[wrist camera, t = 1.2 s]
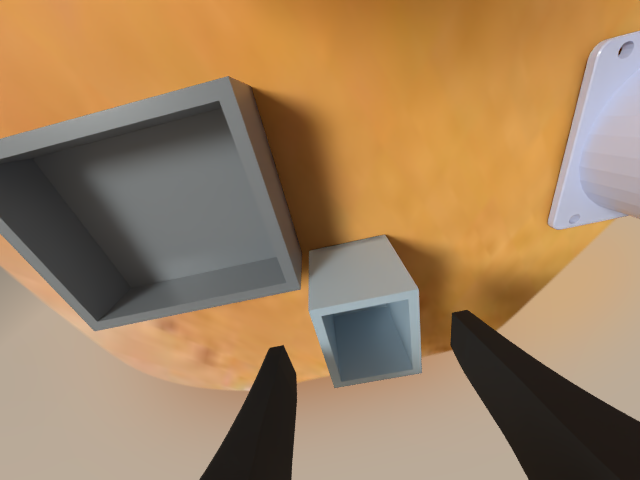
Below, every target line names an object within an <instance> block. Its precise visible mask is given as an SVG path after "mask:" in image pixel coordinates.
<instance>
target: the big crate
mask: <svg viewBox="0 0 640 480" xmlns="http://www.w3.org/2000/svg"><path fill="white" fill-rule="evenodd" d="M0 234H1V235H2V236H3V237H4V238H5V239H6V240H7V241H8V242H9V243H10V244H11V245H12V246H13V247H14V248H15V249H16V250H17V251H18V252H19V253H20V255H21V256H22V257H23V258H24V259H25V260H26V261H27V262H28V263H29V264H30V265H31V266H32V267H33V268H34V269H35V270H36V271H37V272H38V273H39V274H40V275H41V276H42V277H43V278H44V279H45V280H46V281H47V282H48V283H49V285H50V286H51V287H52V288H53V289H54V290H55V291H56V292H57V293H58V294H59V295H60V296H61V297H62V298H63V299H64V300H65V301H66V302H67V303H68V304H69V305H70V306H71V307H72V308H73V309H74V310H75V311H76V312H77V313H78V315H79V316H80V317H81V318H82V319H83V320H84V321H85V322H86V323H87V324H88V325H89V326H90V327H91V328H92V329H93V330H94V331H98V330H103V329H108V328H113V327H118V326H123V325H128V324H133V323H138V322H143V321H147V320H152V319H157V318H162V317H167V316H172V315H177V314H182V313H187V312H192V311H197V310H201V309H206V308H211V307H216V306H221V305H226V304H231V303H236V302H241V301H246V300H251V299H255V298H260V297H265V296H270V295H275V294H280V293H285V292H290V291H295V290H300V289H301V270H302V251H301V248H300V245H299V241H298V238H297V235H296V232H295V228H294V225H293V222H292V219H291V215H290V212H289V209H288V205H287V202H286V199H285V196H284V192H283V189H282V186H281V183H280V179H279V176H278V173H277V170H276V166H275V163H274V160H273V157H272V153H271V150H270V147H269V144H268V140H267V137H266V134H265V130H264V127H263V124H262V121H261V117H260V114H259V111H258V108H257V104H256V101H255V98H254V95H253V91H252V88H251V86H249V85H247V84H245V83H242V82H240V81H238V80H236V79H233V78H231V77H229V76H227V77H224V78H220V79H217V80H213V81H209V82H206V83H202V84H198V85H195V86H191V87H187V88H184V89H180V90H177V91H173V92H169V93H166V94H162V95H158V96H155V97H151V98H147V99H144V100H140V101H136V102H133V103H129V104H126V105H122V106H118V107H115V108H111V109H107V110H104V111H100V112H96V113H93V114H89V115H86V116H82V117H78V118H75V119H71V120H67V121H64V122H60V123H56V124H53V125H49V126H45V127H42V128H38V129H35V130H31V131H27V132H24V133H20V134H16V135H13V136H9V137H5V138H2V139H0Z"/></svg>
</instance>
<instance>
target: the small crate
mask: <svg viewBox="0 0 640 480" xmlns="http://www.w3.org/2000/svg"><path fill="white" fill-rule="evenodd" d="M309 313H310V316H311V319H312V322H313V325H314V328H315V331H316V334H317V337H318V340H319V343H320V346H321V349H322V352H323V355H324V358H325V361H326V364H327V367H328V370H329V373H330V376H331V379H332V382H333V385H334V388H338V387H344V386H349V385H355V384H361V383H367V382H373V381H378V380H384V379H390V378H396V377H402V376H408V375H414V374H419V373H422V366H421V365H422V364H421V337H420V310H419V289H418V287H417V285H416V284H415V282H414V281H413V279H412V277H411V276H410V274H409V272H408V271H407V269H406V268H405V266H404V264H403V263H402V261H401V260H400V258H399V256H398V255H397V253H396V251H395V250H394V248H393V247H392V245H391V243H390V242H389V240H388V238H387V237H386V235H380V236H376V237H371V238H366V239H362V240H357V241H352V242H348V243H343V244H339V245H334V246H329V247H325V248H320V249H315V250H311V251H309Z"/></svg>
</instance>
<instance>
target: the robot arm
mask: <svg viewBox="0 0 640 480" xmlns="http://www.w3.org/2000/svg"><path fill="white" fill-rule="evenodd" d="M621 46H622V51H621V53H620V55H619V56H618V52H619V50H620V48H621ZM629 215H630V216H633V217H636V218H639V219H640V31H637V32H633V33H629V34H625V35H621V36H617V37H613V38H610V39H606V40H604V41H602V42H600V43H599V44H598V45H596V46H595V47H594V49H593V50H592V52H591V53H590V56H589V58H588V61H587V65H586V70H585V74H584V78H583V82H582V86H581V90H580V94H579V98H578V102H577V106H576V110H575V114H574V118H573V122H572V126H571V130H570V134H569V138H568V142H567V146H566V150H565V154H564V158H563V162H562V166H561V170H560V174H559V178H558V182H557V186H556V190H555V194H554V198H553V202H552V206H551V210H550V215H549V219H548V225H549V226H550V227H552V228H555V229H557V230H560V229H566V228H570V227H575V226H580V225H585V224H590V223H595V222H600V221H604V220H609V219H614V218H619V217H624V216H629ZM451 347H452V349H453V352H454V354H455V356H456V358H457V360H458V362H459V364H460V365H461V367H462V369H463V371H464V373H465V374H466V376H467V378H468V379H469V381H470V382H471V384H472V386H473V387H474V389H475V390H476V392H477V394H478V395H479V397H480V398H481V400H482V401H483V403H484V404H485V406H486V408H487V409H488V410H489V412H490V414H491V415H492V417H493V419H494V420H495V422H496V423H497V425H498V426H499V428H500V429H501V431H502V433H503V434H504V436H505V438H506V439H507V441H508V442H509V444H510V446H511V447H512V449H513V451H514V453H515V455H516V457H517V459H518V461H519V462H520V464H521V466H522V468H523V470H524V472H525V474H526V475H527V477H528V479H529V480H640V422H639V421H637V420H635V419H633V418H632V417H630V416H628V415H626V414H625V413H623V412H621V411H619V410H617V409H615V408H614V407H612V406H610V405H609V404H607V403H605V402H603V401H602V400H600V399H598V398H597V397H595V396H593V395H591V394H590V393H588V392H586V391H585V390H583V389H581V388H580V387H578V386H577V385H575V384H573V383H571V382H570V381H568V380H567V379H565V378H564V377H562V376H560V375H559V374H558V373H556V372H554V371H553V370H551V369H550V368H548V367H546V366H545V365H543V364H542V363H541V362H539V361H538V360H536V359H535V358H533V357H532V356H530V355H529V354H527V353H526V352H525V351H523V350H522V349H520V348H519V347H517V346H516V345H515V344H513V343H512V342H510V341H509V340H508V339H506V338H505V337H503V336H502V335H501V334H499V333H498V332H497V331H495V330H494V329H492V328H491V327H490V326H488V325H487V324H486V323H484V322H483V321H482V320H480V319H479V318H478V317H476V316H475V315H474V314H472V313H471V312H470V311H468V310H464V311H459V312H454V313H452V326H451ZM296 403H297V383H296V372H295V370H294V368H293V366H292V363H291V361H290V359H289V357H288V354H287V352H286V350H285V348H284V345H282V346H277V347H272V348H270V349H269V350H268V352H267V354H266V357H265V359H264V361H263V364H262V366H261V368H260V370H259V373H258V375H257V377H256V379H255V381H254V383H253V386H252V388H251V390H250V392H249V394H248V396H247V398H246V400H245V402H244V404H243V406H242V408H241V410H240V412H239V414H238V415H237V417H236V419H235V421H234V423H233V425H232V427H231V428H230V430H229V432H228V434H227V436H226V437H225V439H224V441H223V442H222V444H221V446H220V448H219V449H218V451H217V453H216V454H215V456H214V457H213V459H212V461H211V462H210V464H209V466H208V467H207V469H206V470H205V472H204V474H203V475H202V476H201V478H200V480H291V474H292V458H293V445H294V431H295V420H296V406H297V404H296Z"/></svg>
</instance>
